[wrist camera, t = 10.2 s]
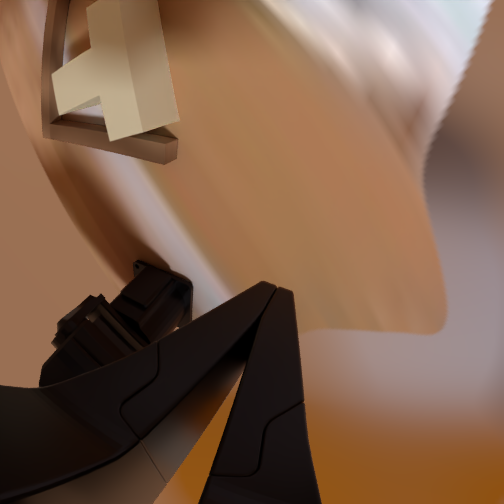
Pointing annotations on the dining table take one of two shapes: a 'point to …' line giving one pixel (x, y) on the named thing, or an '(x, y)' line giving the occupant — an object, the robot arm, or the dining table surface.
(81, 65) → the T block
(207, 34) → the dining table surface
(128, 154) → the frame
